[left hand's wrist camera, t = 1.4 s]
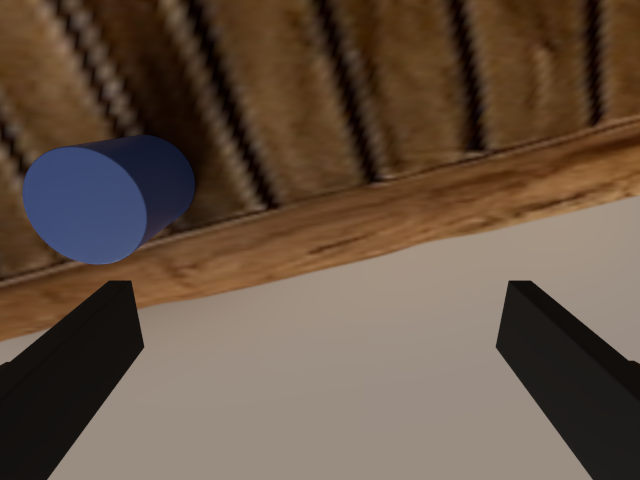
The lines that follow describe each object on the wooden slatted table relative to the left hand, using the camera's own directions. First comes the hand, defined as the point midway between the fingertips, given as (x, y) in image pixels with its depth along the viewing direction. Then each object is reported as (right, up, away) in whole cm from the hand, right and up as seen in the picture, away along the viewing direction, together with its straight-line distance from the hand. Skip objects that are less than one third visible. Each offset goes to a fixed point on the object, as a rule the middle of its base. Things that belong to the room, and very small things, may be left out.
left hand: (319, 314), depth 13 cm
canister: (-13, +7, +16) cm, 22 cm away
